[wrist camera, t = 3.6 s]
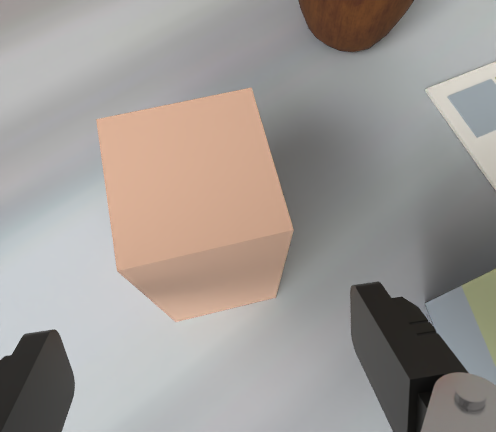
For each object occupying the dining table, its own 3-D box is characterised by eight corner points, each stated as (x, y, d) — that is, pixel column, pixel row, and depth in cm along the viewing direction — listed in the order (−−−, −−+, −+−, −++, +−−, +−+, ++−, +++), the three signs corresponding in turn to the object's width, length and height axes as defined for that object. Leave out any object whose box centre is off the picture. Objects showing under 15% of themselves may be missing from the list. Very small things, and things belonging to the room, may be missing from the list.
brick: (158, 227, 23) (96, 119, 14) (251, 206, 24) (251, 87, 14) (175, 321, 21) (117, 270, 12) (275, 297, 22) (293, 229, 12)
